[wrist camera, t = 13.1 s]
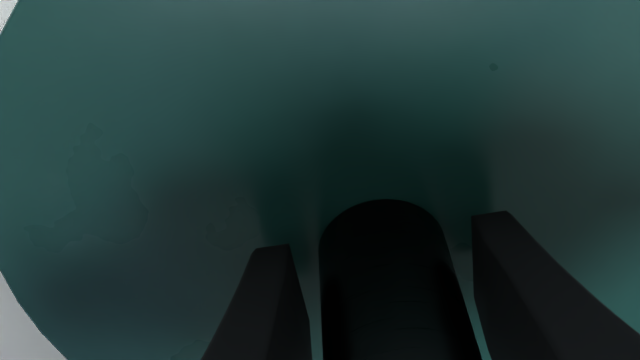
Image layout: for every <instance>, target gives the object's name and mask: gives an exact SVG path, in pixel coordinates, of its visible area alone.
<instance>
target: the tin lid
mask: <svg viewBox="0 0 640 360" xmlns="http://www.w3.org/2000/svg"><path fill="white" fill-rule="evenodd" d="M499 211H508V212H509V213H510V214H512V215H513V216H514V217H515V218H516V220H517V221H518V222H519V223H520V224H521V225H522V226H523V227H524V228H525V229H526V230H527V231H528V232H529V233H530V235H531V236H532V237H533V238H534V239H535V240H536V241H537V242H538V243H539V244H540V245H541V246H542V247H543V248H544V249H545V250H546V251H547V252H548V253H549V254H550V255H551V256H552V257H553V258H554V259H555V260H556V261H557V262H558V263H559V264H560V265H561V266H562V267H563V268H564V269H566V270H567V271H568V272H569V273H570V274H571V275H572V276H573V277H574V278H575V279H576V280H577V281H579V282H580V283H581V284H582V285H583V286H584V287H585V288H586V289H587V290H588V291H589V292H591V293H592V294H593V295H594V296H595V297H596V298H597V299H598V300H600V301H601V302H602V303H603V304H604V305H605V306H606V307H608V308H609V309H610V310H611V311H612V312H613V313H615V314H616V315H617V316H618V317H620V318H621V319H622V320H623V321H624V322H626V323H627V324H628V325H629V326H631V327H632V328H633V329H634V330H635V331H637V332H638V333H639V334H640V0H18V1H17V3H16V5H15V7H14V9H13V11H12V13H11V14H10V16H9V18H8V20H7V22H6V24H5V26H4V28H3V29H2V31H1V33H0V271H1V273H2V275H3V277H4V278H5V280H6V282H7V284H8V285H9V287H10V289H11V291H12V293H13V294H14V296H15V298H16V300H17V302H18V303H19V304H20V306H21V307H22V308H23V310H24V311H25V312H26V314H27V315H28V316H29V317H30V319H31V320H32V321H33V323H34V324H35V325H36V327H37V328H38V329H39V331H40V332H41V333H42V334H43V335H44V336H45V337H46V338H47V339H48V340H49V341H50V342H51V343H52V344H53V345H54V346H55V348H56V349H57V350H58V351H59V352H60V353H61V354H62V355H63V356H64V357H65V358H66V359H67V360H201V358H202V356H203V355H204V353H205V351H206V349H207V347H208V346H209V344H210V342H211V340H212V338H213V336H214V334H215V332H216V330H217V328H218V326H219V324H220V322H221V320H222V318H223V316H224V314H225V312H226V310H227V308H228V306H229V304H230V302H231V300H232V298H233V296H234V293H235V291H236V289H237V287H238V285H239V282H240V280H241V278H242V275H243V273H244V271H245V268H246V266H247V263H248V261H249V258H250V256H251V254H252V252H253V251H254V250H255V249H256V248H262V247H268V246H275V245H281V244H288V243H289V246H290V249H291V253H292V257H293V261H294V264H295V268H296V272H297V276H298V279H299V283H300V287H301V291H302V294H303V298H304V302H305V306H306V309H307V313H308V317H309V321H310V335H311V348H312V360H492V359H491V356H490V354H489V351H488V348H487V345H486V341H485V338H484V334H483V330H482V327H481V323H480V319H479V315H478V311H477V308H476V304H475V300H474V289H473V260H472V231H471V216H473V215H479V214H486V213H493V212H499Z"/></svg>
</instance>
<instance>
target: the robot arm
mask: <svg viewBox="0 0 640 360" xmlns="http://www.w3.org/2000/svg"><path fill="white" fill-rule="evenodd" d="M471 231H472V260H473V289H474V300H475V304H476V308H477V311H478V315H479V319H480V323H481V327H482V330H483V334H484V338H485V341H486V345H487V348H488V351H489V354H490V356H491V359H492V360H640V334H639V333H638V332H637V331H635V330H634V329H633V328H632V327H631V326H629V325H628V324H627V323H626V322H624V321H623V320H622V319H621V318H620V317H618V316H617V315H616V314H615V313H613V312H612V311H611V310H610V309H609V308H608V307H606V306H605V305H604V304H603V303H602V302H601V301H600V300H598V299H597V298H596V297H595V296H594V295H593V294H592V293H591V292H589V291H588V290H587V289H586V288H585V287H584V286H583V285H582V284H581V283H580V282H579V281H577V280H576V279H575V278H574V277H573V276H572V275H571V274H570V273H569V272H568V271H567V270H566V269H564V268H563V267H562V266H561V265H560V264H559V263H558V262H557V261H556V260H555V259H554V258H553V257H552V256H551V255H550V254H549V253H548V252H547V251H546V250H545V249H544V248H543V247H542V246H541V245H540V244H539V243H538V242H537V241H536V240H535V239H534V238H533V237H532V236H531V235H530V233H529V232H528V231H527V230H526V229H525V228H524V227H523V226H522V225H521V224H520V223H519V222H518V221H517V220H516V218H515V217H514V216H513V215H512V214H510V213H509V212H508V211H499V212H493V213H486V214H479V215H473V216H471ZM201 360H312V348H311V335H310V321H309V317H308V313H307V309H306V306H305V302H304V298H303V294H302V291H301V287H300V283H299V279H298V276H297V272H296V268H295V264H294V261H293V257H292V253H291V249H290V246H289V243H288V244H281V245H275V246H268V247H262V248H256V249H255V250H254V251H253V252H252V254H251V256H250V258H249V261H248V263H247V266H246V268H245V271H244V273H243V275H242V278H241V280H240V282H239V285H238V287H237V289H236V291H235V293H234V296H233V298H232V300H231V302H230V304H229V306H228V308H227V310H226V312H225V314H224V316H223V318H222V320H221V322H220V324H219V326H218V328H217V330H216V332H215V334H214V336H213V338H212V340H211V342H210V344H209V346H208V347H207V349H206V351H205V353H204V355H203V356H202V358H201Z"/></svg>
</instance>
